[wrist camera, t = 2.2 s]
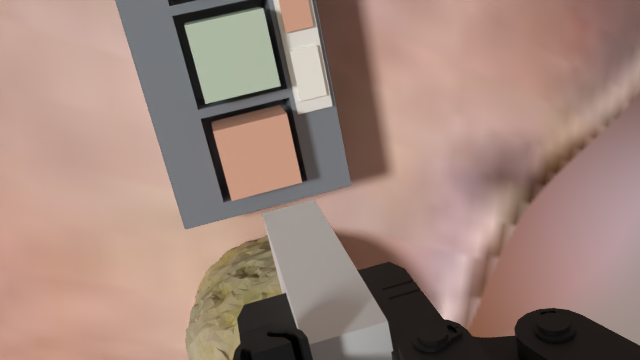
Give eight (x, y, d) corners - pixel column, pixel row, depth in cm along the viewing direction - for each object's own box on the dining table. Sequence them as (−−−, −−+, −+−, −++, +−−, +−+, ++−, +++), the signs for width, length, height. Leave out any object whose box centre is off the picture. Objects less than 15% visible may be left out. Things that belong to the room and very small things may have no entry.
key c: (211, 121, 27) (213, 131, 25) (279, 105, 27) (286, 113, 25) (228, 186, 28) (231, 201, 26) (294, 169, 28) (302, 182, 26)
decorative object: (347, 288, 38) (437, 270, 29) (284, 448, 34) (367, 483, 25) (220, 219, 36) (276, 176, 27) (136, 381, 31) (170, 393, 23)
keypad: (94, -101, 25) (78, -115, 22) (274, -135, 26) (288, -154, 23) (185, 204, 30) (185, 232, 27) (335, 165, 31) (353, 187, 28)
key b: (184, 22, 25) (184, 25, 23) (257, 6, 26) (263, 8, 24) (204, 95, 26) (205, 104, 24) (274, 79, 27) (280, 85, 25)
